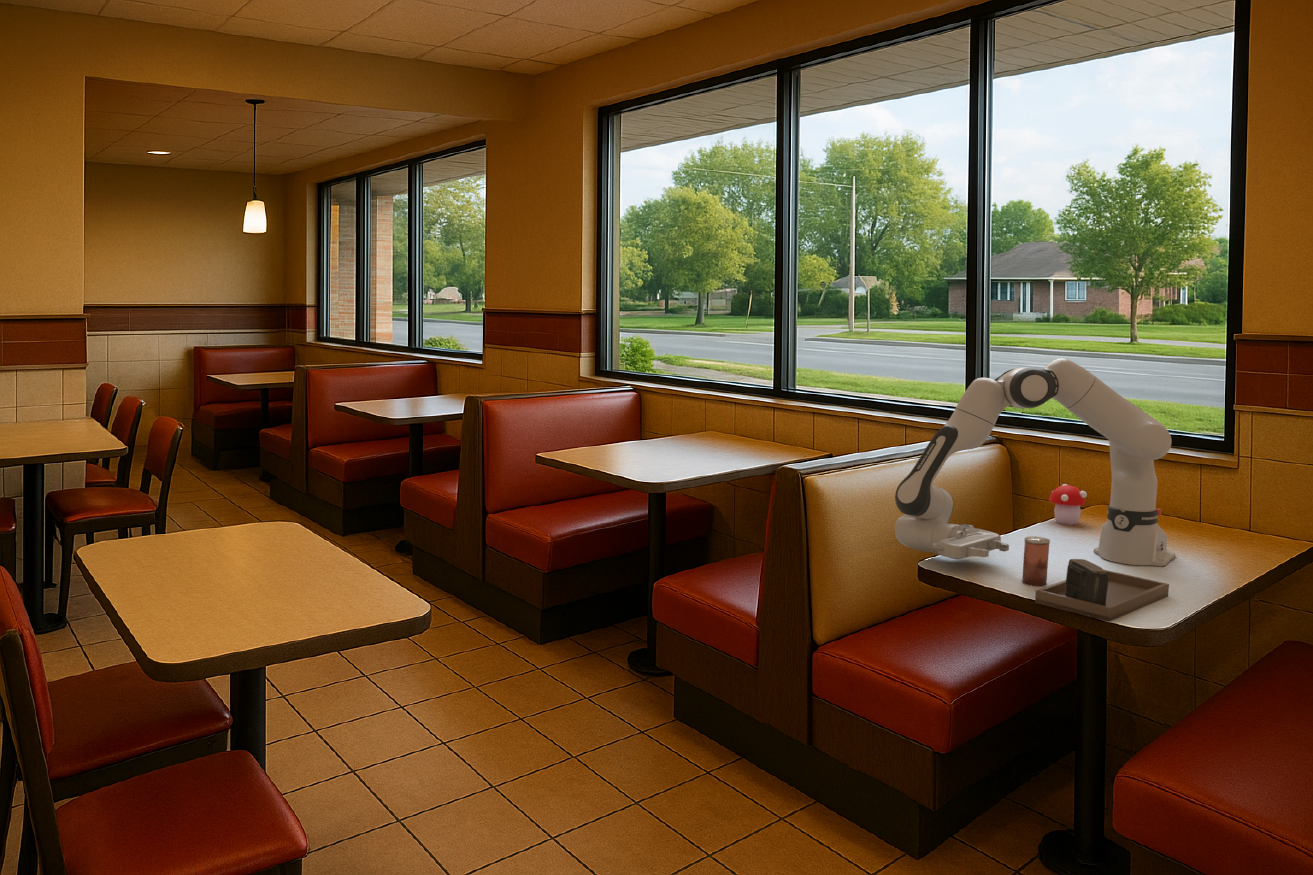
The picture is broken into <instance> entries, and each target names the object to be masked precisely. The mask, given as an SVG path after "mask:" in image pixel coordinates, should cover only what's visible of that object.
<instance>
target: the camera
mask: <svg viewBox="0 0 1313 875" xmlns="http://www.w3.org/2000/svg"><path fill="white" fill-rule="evenodd" d="M1065 578H1066V579H1065V580H1066V585H1065V596H1067V597H1071V598H1075V599H1079V600H1083V601H1087V602H1091V603H1095V604H1099V605H1103V606H1106V597H1107V589H1108V588H1107V587H1108V581H1109V580H1108V574H1106V569H1104V568H1103V567H1101V566H1099V565H1097V564H1095V563H1093V562H1091V561H1089V560H1086V559H1083V558H1071V559H1069V560H1068V564H1067V568H1066V576H1065Z"/></svg>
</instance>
